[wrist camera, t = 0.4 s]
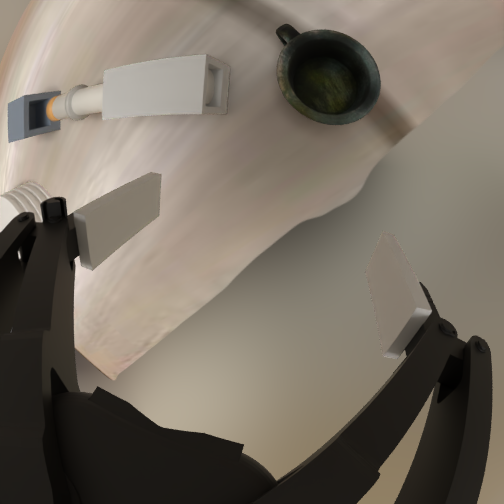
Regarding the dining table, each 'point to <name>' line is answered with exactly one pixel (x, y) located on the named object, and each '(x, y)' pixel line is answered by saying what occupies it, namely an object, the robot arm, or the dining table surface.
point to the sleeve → (165, 87)
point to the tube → (92, 101)
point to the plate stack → (22, 202)
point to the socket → (30, 116)
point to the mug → (327, 75)
